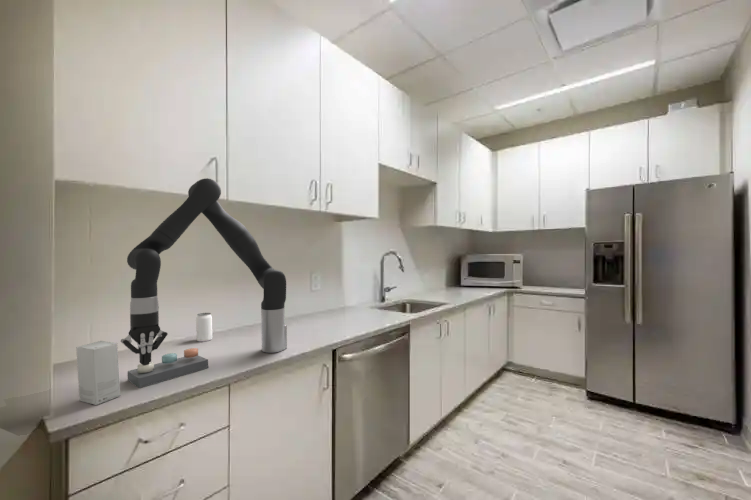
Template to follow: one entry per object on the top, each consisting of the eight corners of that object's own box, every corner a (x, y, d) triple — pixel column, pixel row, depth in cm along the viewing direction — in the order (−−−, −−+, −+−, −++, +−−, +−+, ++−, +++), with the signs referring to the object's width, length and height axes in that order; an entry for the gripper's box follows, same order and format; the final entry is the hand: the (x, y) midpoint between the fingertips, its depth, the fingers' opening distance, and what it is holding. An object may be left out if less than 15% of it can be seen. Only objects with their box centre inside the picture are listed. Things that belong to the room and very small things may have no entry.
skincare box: (120, 396, 97) (119, 342, 97) (94, 406, 91) (92, 349, 91) (103, 391, 101) (102, 339, 100) (76, 401, 95) (75, 345, 94)
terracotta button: (194, 352, 123) (194, 347, 123) (200, 355, 120) (200, 349, 120) (181, 356, 119) (181, 350, 119) (187, 358, 117) (187, 352, 117)
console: (194, 362, 126) (194, 354, 126) (208, 367, 120) (208, 359, 120) (127, 380, 109) (127, 371, 109) (139, 388, 103) (138, 378, 103)
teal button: (173, 358, 117) (173, 352, 117) (179, 360, 115) (179, 354, 115) (159, 361, 114) (159, 355, 114) (165, 364, 111) (165, 358, 111)
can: (195, 342, 151) (194, 315, 151) (198, 338, 157) (197, 313, 157) (210, 341, 153) (210, 314, 153) (213, 337, 159) (213, 312, 159)
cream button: (151, 367, 112) (150, 361, 112) (156, 370, 109) (156, 363, 109) (135, 371, 108) (135, 364, 108) (140, 374, 106) (140, 367, 106)
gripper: (162, 306, 116) (163, 356, 116) (115, 312, 105) (116, 368, 106) (172, 308, 111) (172, 361, 112) (123, 315, 101) (124, 373, 101)
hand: (145, 364), depth 109 cm, fingers closed
